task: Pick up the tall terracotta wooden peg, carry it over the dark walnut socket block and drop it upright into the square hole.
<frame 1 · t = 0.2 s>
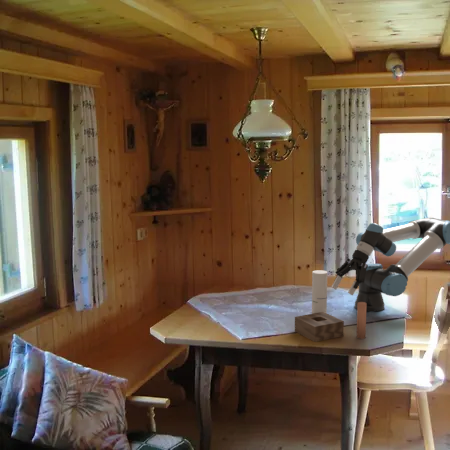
hand: (341, 291, 305), 16 cm above the table, tool tilted 35°, fingers open, 13 cm apart
socket block: (318, 333, 293), on the table
peg: (361, 337, 288), on the table
cylindrical container: (318, 322, 310), on the table
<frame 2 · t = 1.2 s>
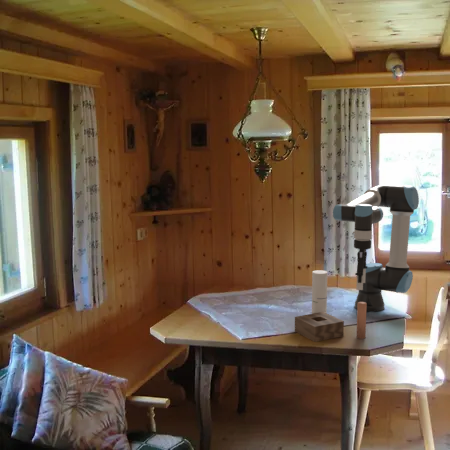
hand: (360, 286, 285), 24 cm above the table, tool pointing down, fingers open, 13 cm apart
nothing on the table moved.
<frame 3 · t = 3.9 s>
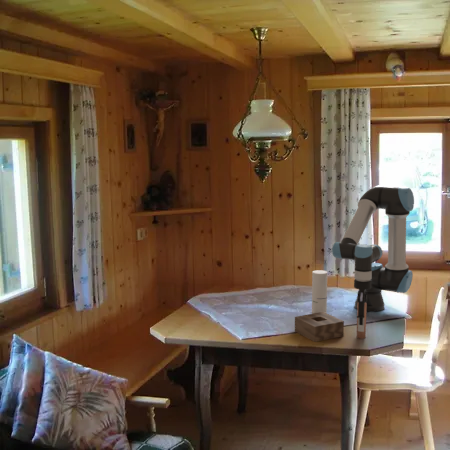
hand: (361, 329, 287), 4 cm above the table, tool pointing down, fingers closed on peg, 4 cm apart
peg: (361, 337, 288), on the table, touching gripper
everything else where it was.
when the fingers open (9 cm above the table, at t = 9.1 s): peg drops 6 cm, resting in socket block.
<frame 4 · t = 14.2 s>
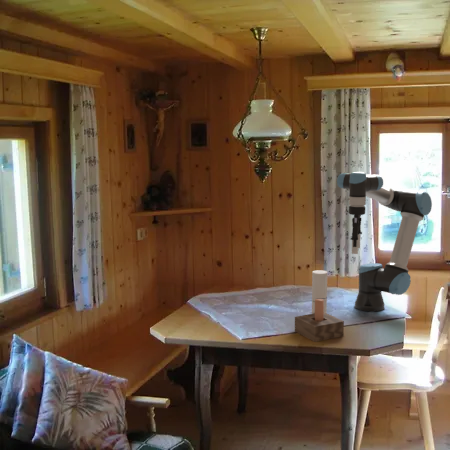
hand: (355, 250, 297), 37 cm above the table, tool pointing down, fingers open, 13 cm apart
peg: (318, 333, 293), resting in socket block
everything else where it was.
at the end: peg 0.0 cm off-centre on the socket block, point 0.0 cm above the socket block's base; peg tilted 0°; the gripper is holding nothing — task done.
